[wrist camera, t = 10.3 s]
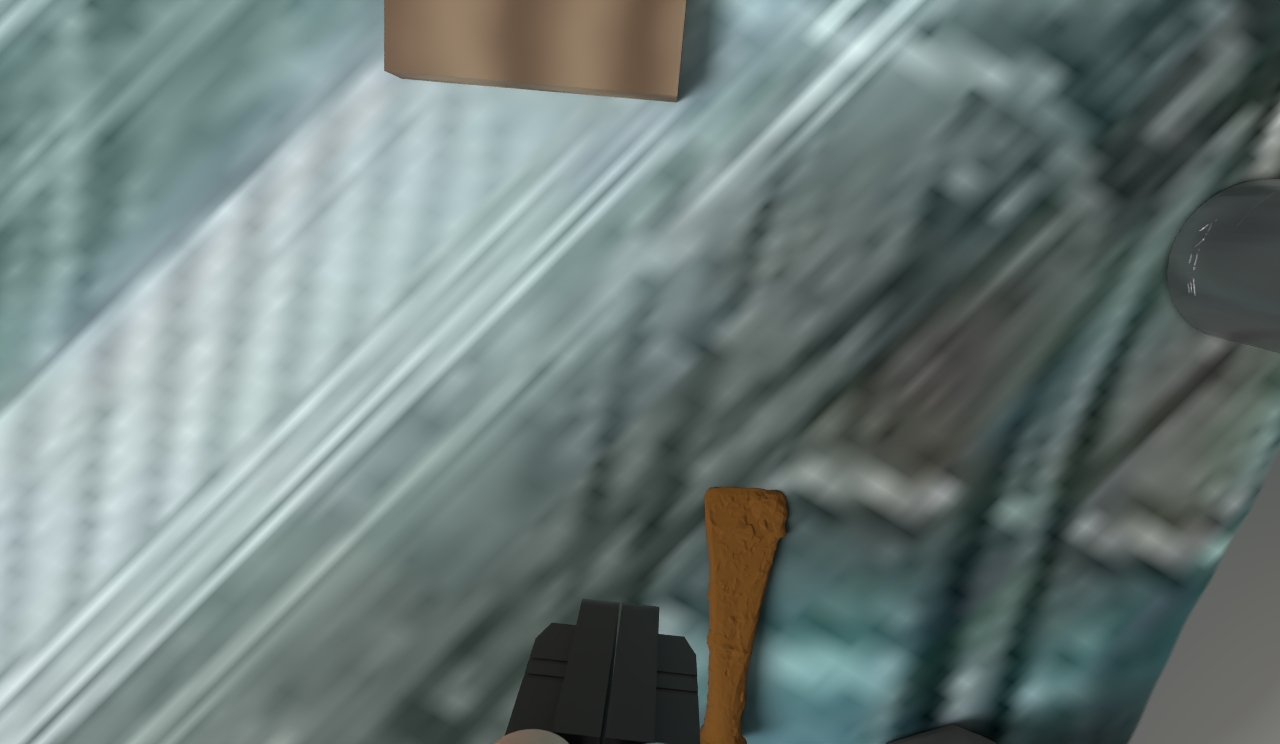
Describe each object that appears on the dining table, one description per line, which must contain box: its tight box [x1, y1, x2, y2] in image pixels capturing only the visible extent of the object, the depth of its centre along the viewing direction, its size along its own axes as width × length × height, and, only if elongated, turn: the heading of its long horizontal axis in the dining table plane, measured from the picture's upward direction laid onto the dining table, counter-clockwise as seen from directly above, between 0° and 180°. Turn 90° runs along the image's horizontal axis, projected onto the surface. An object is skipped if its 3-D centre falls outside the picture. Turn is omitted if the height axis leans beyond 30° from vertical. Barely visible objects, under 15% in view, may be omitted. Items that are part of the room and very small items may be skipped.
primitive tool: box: [700, 487, 788, 744], centre depth 47 cm, size 19×6×4 cm, turn 179°
